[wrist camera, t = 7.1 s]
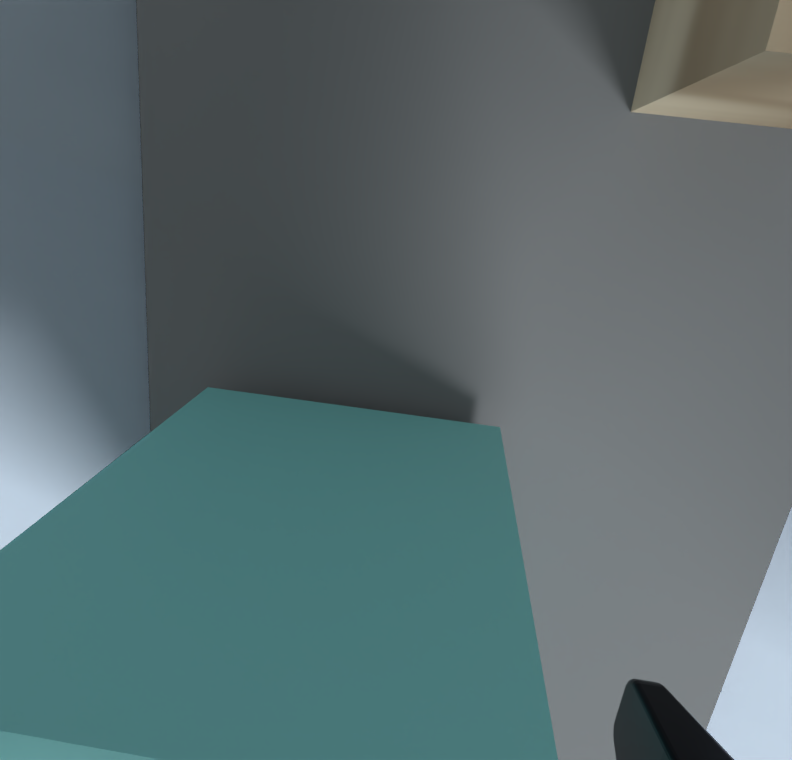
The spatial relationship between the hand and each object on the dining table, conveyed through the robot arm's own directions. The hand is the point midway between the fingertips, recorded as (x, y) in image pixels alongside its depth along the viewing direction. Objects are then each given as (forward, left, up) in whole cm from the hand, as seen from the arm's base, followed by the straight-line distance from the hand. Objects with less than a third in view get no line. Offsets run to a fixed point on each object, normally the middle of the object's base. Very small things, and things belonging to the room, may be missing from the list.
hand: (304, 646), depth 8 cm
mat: (-2, -1, -4) cm, 4 cm away
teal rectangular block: (0, 0, -3) cm, 3 cm away
